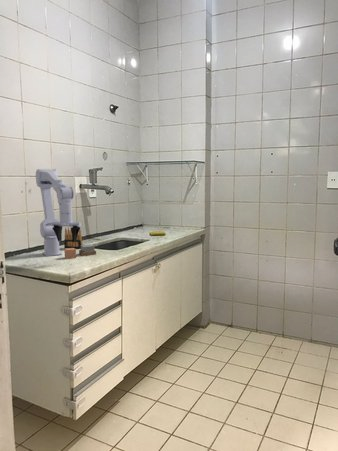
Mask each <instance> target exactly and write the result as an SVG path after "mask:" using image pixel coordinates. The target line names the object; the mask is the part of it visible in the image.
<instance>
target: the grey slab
mask: <svg viewBox="0 0 338 451" xmlns="http://www.w3.org/2000/svg"><path fill="white" fill-rule="evenodd" d="M80 250H82V251H83V252H88V251H96V250H95V245H93V244H82V245H81V249H80Z"/></svg>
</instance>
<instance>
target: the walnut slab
mask: <svg viewBox="0 0 338 451" xmlns="http://www.w3.org/2000/svg"><path fill="white" fill-rule="evenodd" d="M78 254H79V255H80V256H82V257H87V256H96V255H97V250H95V251H88V252H83V251H82V250H81V249H78Z"/></svg>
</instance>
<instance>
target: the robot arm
mask: <svg viewBox="0 0 338 451" xmlns="http://www.w3.org/2000/svg"><path fill="white" fill-rule="evenodd" d="M58 176H59V173H58V170H57V169H55V168H53V169H50V168H49V169H47V168H45V169H43V168H42V169H39V168H38V169H36V171H35V182H36V187H39V188H40V193H41V200H42V206H43V214H44V219H43V221H41V222H40V225H39V226H40V227H39V228H40V230H39V232H40V235H41V237H42V238H43V239H44V241H43V248H44V251H43V252H42V254H43V255H44V256H45V257H51V256H61V255H62V254H63V253H62V252H61V251H60V242H62V240H63V239H62V236H63V235H62V234H63V227H69V228H70V229H71V232H72V241H73V242H76V239H77V235H79V230H80V229H81V227H82V222H80V221H79V222H76V221H73V204H72V202H73V201H72V200H73V199H74V196H75V195H74V189H73V187H72V186H67V185H66V183H65V182H64V181H63V180H62V179H59V177H58ZM52 189H53V190H54V191H55V193H56V198H57V204H58V207H59V208H58V209H59V220H58V219H57V218H56V217H55V212H54V204H53V197H52Z"/></svg>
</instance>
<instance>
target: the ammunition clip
mask: <svg viewBox="0 0 338 451" xmlns="http://www.w3.org/2000/svg"><path fill="white" fill-rule="evenodd" d="M64 227H65V228H64V241H63V242H64V243H63V244H64V246H63V247H64V249H67V248H74V249H76V250H81V245H83V239H82V231H81V228H80V230H79V232H78V235H77V239H76V242H73V241H72V232H71V228H70V227H69V226H64Z"/></svg>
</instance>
